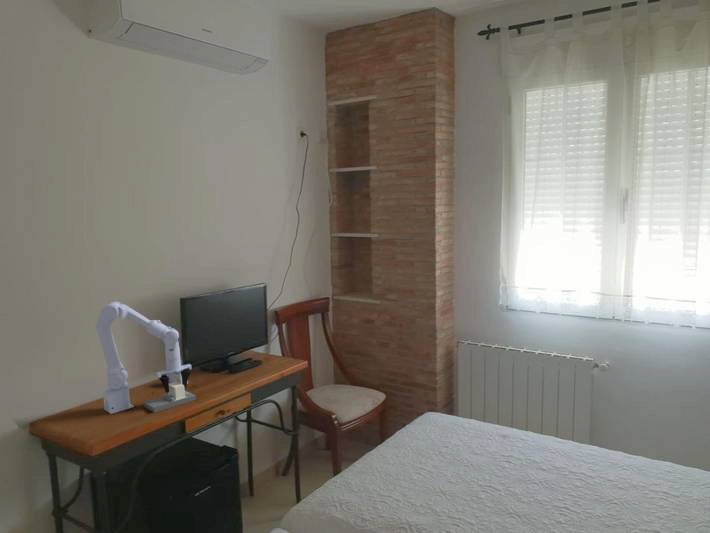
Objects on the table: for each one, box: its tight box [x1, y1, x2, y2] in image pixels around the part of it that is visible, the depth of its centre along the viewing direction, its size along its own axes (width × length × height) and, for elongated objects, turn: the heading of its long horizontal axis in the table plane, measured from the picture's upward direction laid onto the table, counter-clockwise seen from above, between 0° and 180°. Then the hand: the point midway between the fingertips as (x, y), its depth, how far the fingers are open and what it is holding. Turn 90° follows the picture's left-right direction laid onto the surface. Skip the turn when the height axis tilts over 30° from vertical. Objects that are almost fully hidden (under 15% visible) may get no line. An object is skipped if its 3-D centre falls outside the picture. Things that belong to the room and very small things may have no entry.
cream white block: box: [167, 382, 186, 400], centre depth 227 cm, size 4×8×5 cm, turn 43°
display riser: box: [143, 390, 197, 413], centre depth 225 cm, size 18×10×3 cm, turn 134°
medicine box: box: [167, 372, 189, 385], centre depth 250 cm, size 8×4×9 cm, turn 62°
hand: (176, 389), depth 227 cm, fingers open, 7 cm apart
